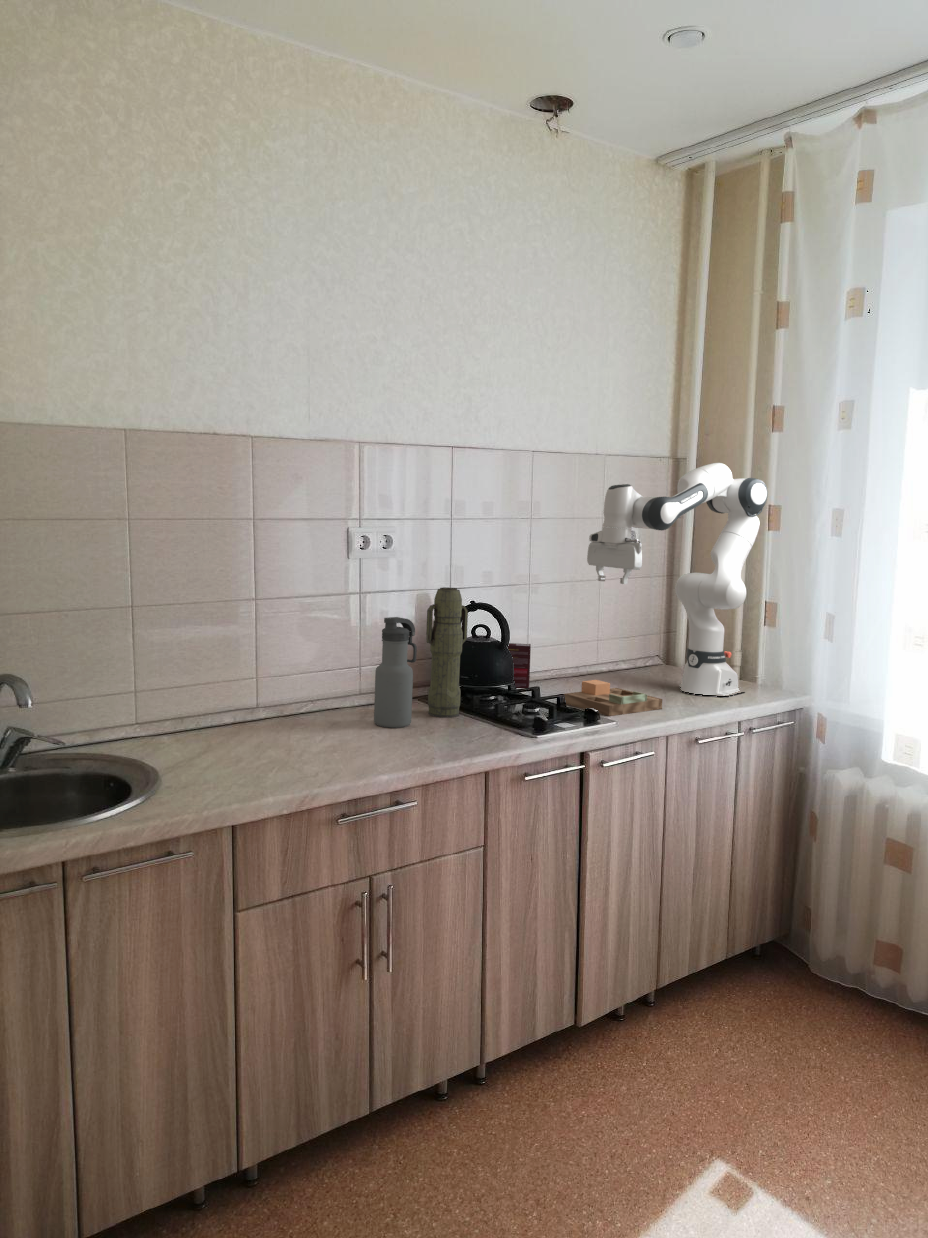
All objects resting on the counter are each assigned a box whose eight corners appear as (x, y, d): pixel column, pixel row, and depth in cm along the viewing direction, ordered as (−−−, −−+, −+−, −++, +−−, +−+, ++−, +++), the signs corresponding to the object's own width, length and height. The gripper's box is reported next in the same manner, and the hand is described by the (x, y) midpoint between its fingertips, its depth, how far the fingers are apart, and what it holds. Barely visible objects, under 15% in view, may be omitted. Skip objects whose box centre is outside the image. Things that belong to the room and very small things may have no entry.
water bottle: (395, 718, 249) (399, 614, 246) (420, 725, 242) (423, 618, 239) (366, 723, 242) (369, 616, 239) (390, 730, 235) (393, 621, 232)
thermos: (470, 715, 256) (475, 589, 252) (435, 719, 249) (439, 590, 245) (452, 708, 263) (457, 586, 259) (417, 712, 257) (421, 587, 252)
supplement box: (529, 693, 290) (531, 643, 288) (528, 696, 285) (531, 645, 283) (501, 692, 291) (503, 642, 289) (500, 695, 286) (502, 644, 284)
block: (595, 690, 285) (596, 679, 284) (609, 693, 280) (610, 683, 279) (581, 691, 281) (581, 681, 281) (595, 695, 276) (595, 684, 276)
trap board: (615, 697, 290) (616, 681, 290) (661, 709, 275) (662, 692, 274) (563, 703, 277) (564, 687, 277) (608, 716, 262) (609, 698, 262)
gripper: (648, 539, 276) (644, 585, 277) (600, 536, 292) (596, 579, 294) (634, 538, 272) (630, 585, 274) (585, 535, 289) (582, 579, 290)
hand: (612, 582), depth 284 cm, fingers open, 8 cm apart
